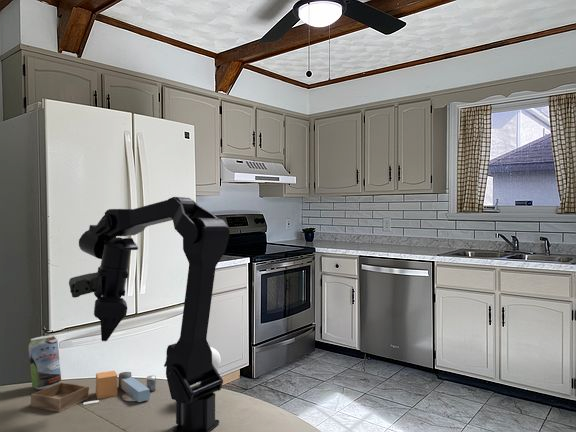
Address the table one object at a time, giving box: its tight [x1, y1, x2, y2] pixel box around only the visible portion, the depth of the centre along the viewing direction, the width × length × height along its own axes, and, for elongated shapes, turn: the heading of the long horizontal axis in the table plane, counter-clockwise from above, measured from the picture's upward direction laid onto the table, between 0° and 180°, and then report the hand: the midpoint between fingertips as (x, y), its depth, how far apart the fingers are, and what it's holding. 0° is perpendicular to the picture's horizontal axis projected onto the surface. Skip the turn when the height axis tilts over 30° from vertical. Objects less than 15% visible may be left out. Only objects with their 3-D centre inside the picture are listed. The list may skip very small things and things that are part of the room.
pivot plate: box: [121, 392, 138, 402], centre depth 98 cm, size 6×6×1 cm
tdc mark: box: [83, 399, 100, 406], centre depth 94 cm, size 3×1×1 cm, turn 115°
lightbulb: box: [199, 346, 222, 384], centre depth 98 cm, size 6×6×11 cm
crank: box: [117, 371, 151, 403], centre depth 100 cm, size 13×3×3 cm, turn 40°
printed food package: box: [28, 334, 62, 390], centre depth 104 cm, size 6×7×12 cm
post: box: [146, 375, 157, 393], centre depth 102 cm, size 2×2×3 cm
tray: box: [30, 381, 90, 413], centre depth 95 cm, size 8×8×3 cm
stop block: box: [95, 370, 118, 400], centre depth 100 cm, size 4×4×4 cm
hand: (103, 332), depth 99 cm, fingers open, 9 cm apart
